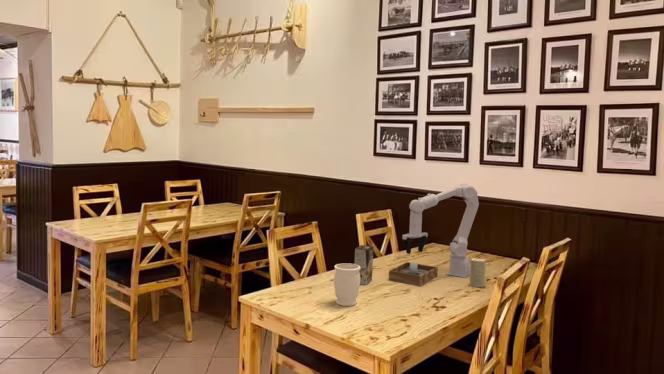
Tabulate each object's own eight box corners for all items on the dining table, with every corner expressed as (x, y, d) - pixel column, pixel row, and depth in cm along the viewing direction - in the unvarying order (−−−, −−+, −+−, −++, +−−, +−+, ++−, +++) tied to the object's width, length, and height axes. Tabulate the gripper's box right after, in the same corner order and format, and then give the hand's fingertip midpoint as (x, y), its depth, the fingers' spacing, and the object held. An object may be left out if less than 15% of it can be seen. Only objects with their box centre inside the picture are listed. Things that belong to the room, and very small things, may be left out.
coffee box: (367, 285, 238) (368, 250, 236) (353, 283, 240) (354, 248, 238) (372, 280, 246) (373, 246, 245) (359, 278, 248) (360, 244, 247)
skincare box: (484, 285, 243) (486, 259, 242) (482, 288, 239) (484, 261, 238) (470, 283, 246) (472, 257, 245) (468, 285, 242) (470, 259, 241)
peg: (411, 276, 254) (412, 262, 253) (418, 278, 252) (419, 263, 251) (407, 278, 251) (408, 263, 251) (414, 279, 249) (414, 265, 248)
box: (406, 270, 264) (407, 262, 264) (437, 276, 256) (437, 267, 255) (388, 280, 247) (389, 270, 247) (420, 286, 239) (421, 276, 238)
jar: (350, 309, 206) (352, 271, 204) (328, 303, 211) (329, 266, 210) (364, 302, 215) (365, 265, 213) (342, 297, 220) (343, 261, 219)
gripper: (409, 227, 250) (408, 256, 251) (432, 225, 258) (431, 252, 259) (399, 225, 256) (398, 252, 257) (422, 222, 264) (421, 249, 265)
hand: (414, 252), depth 259 cm, fingers open, 7 cm apart
